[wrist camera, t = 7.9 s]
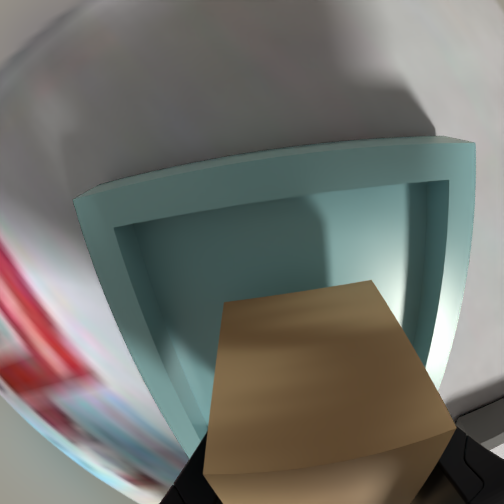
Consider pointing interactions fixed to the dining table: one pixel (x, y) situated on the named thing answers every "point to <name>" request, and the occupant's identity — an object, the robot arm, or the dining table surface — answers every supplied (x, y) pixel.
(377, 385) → the wooden block
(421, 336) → the teal tray
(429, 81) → the dining table surface
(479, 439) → the pair of grey blocks
